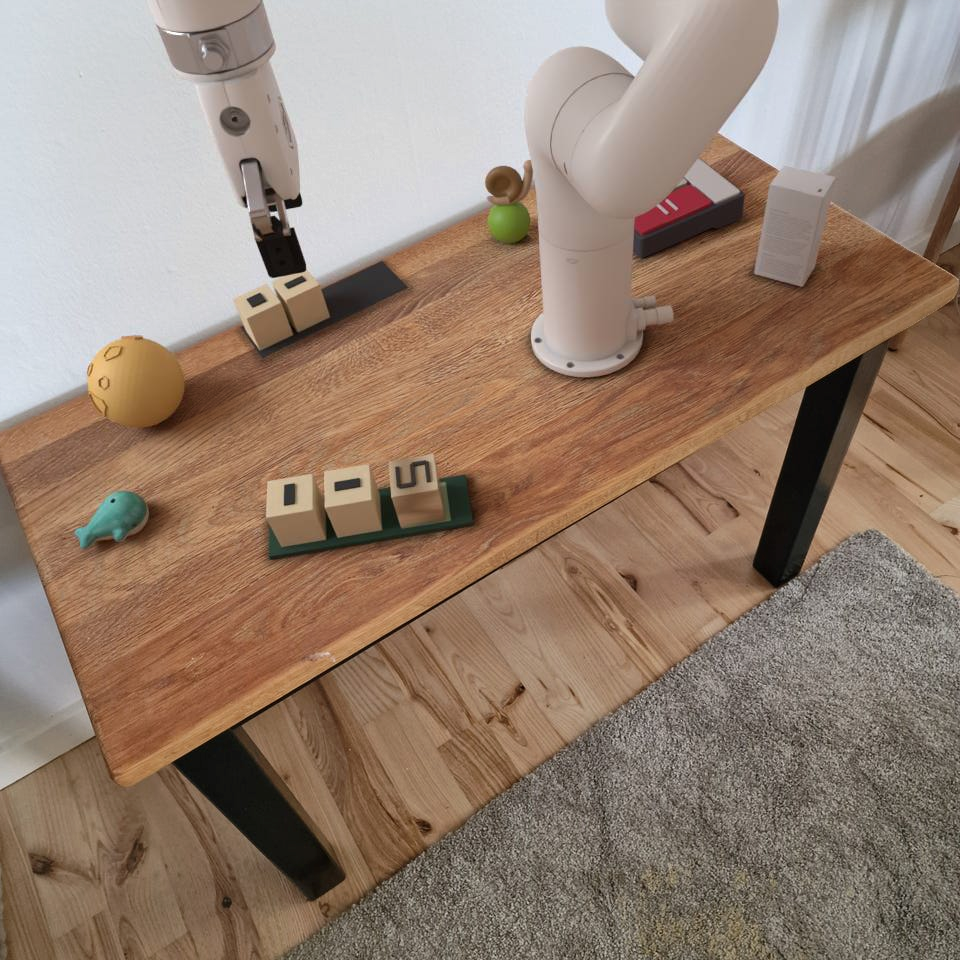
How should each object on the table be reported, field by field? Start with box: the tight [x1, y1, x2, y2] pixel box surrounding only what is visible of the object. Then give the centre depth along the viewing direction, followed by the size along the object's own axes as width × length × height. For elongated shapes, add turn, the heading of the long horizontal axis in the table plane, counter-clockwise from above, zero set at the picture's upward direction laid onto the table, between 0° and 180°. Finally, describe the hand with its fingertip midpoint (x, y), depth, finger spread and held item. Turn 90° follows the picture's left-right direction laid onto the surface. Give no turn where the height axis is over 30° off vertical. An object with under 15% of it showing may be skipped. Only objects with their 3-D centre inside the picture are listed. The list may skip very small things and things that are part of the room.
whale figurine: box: [74, 490, 150, 551], centre depth 83 cm, size 6×7×4 cm
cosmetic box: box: [753, 165, 837, 288], centre depth 93 cm, size 6×4×12 cm
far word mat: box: [232, 260, 409, 359], centre depth 100 cm, size 20×7×6 cm, turn 123°
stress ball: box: [86, 334, 186, 429], centre depth 90 cm, size 10×10×10 cm
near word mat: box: [265, 463, 474, 561], centre depth 79 cm, size 20×6×6 cm, turn 98°
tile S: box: [388, 453, 446, 528], centre depth 79 cm, size 4×4×5 cm
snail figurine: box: [484, 159, 534, 245], centre depth 103 cm, size 5×6×12 cm
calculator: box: [633, 157, 746, 259], centre depth 105 cm, size 11×4×15 cm
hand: (287, 239), depth 72 cm, fingers open, 9 cm apart
